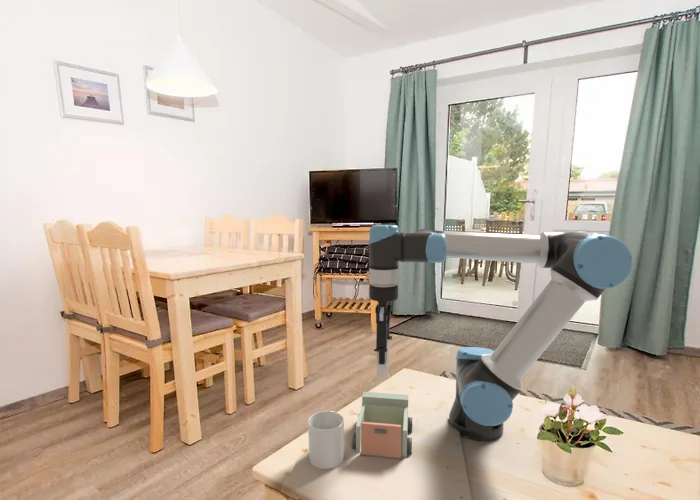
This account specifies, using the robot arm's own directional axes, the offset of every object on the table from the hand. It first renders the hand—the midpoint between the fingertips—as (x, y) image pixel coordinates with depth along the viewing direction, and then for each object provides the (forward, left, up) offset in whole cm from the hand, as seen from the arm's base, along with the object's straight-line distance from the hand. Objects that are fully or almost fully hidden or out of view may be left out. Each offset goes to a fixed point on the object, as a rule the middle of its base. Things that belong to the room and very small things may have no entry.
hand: (383, 368), depth 104 cm
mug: (+14, +8, -21) cm, 27 cm away
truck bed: (0, -1, -21) cm, 21 cm away
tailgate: (0, +7, -20) cm, 21 cm away
